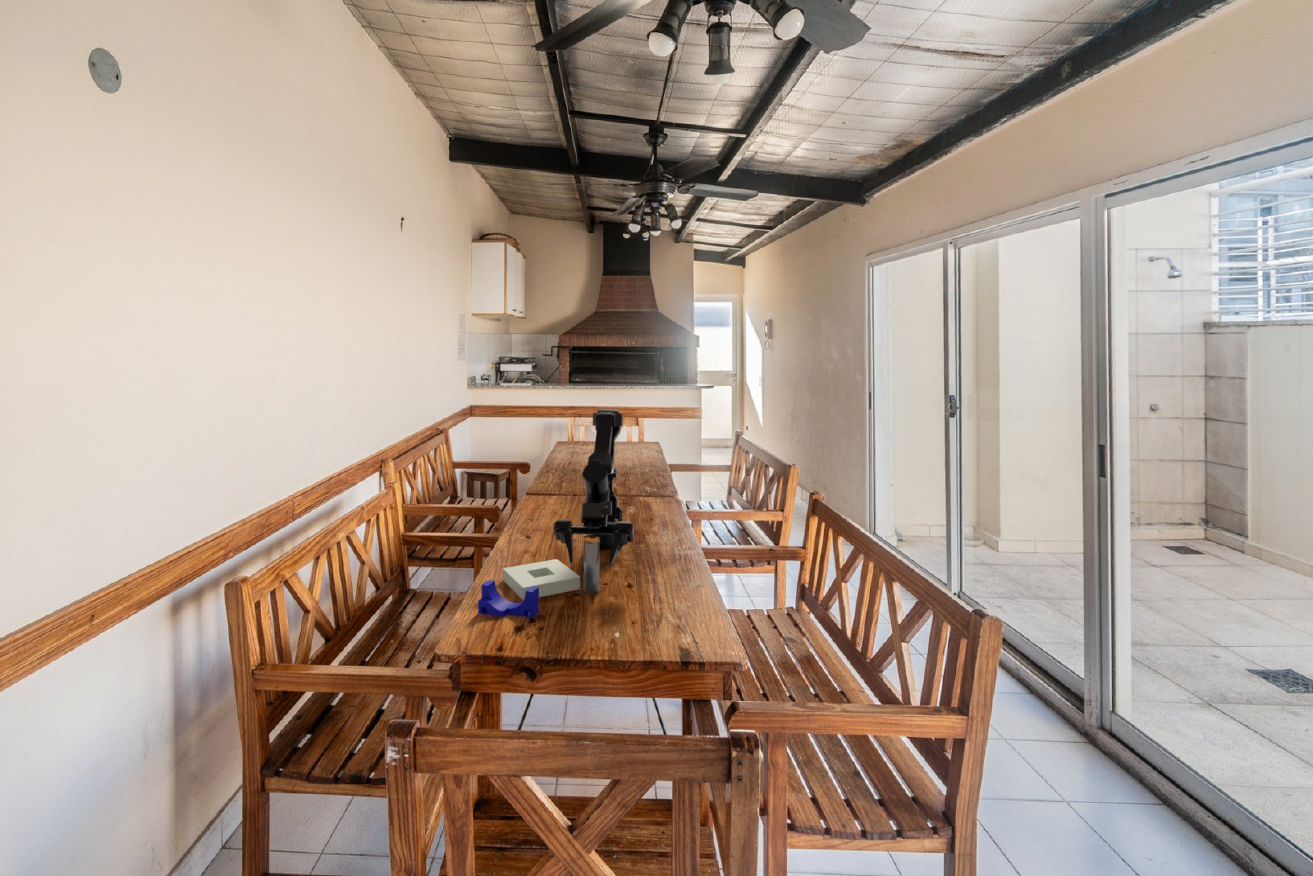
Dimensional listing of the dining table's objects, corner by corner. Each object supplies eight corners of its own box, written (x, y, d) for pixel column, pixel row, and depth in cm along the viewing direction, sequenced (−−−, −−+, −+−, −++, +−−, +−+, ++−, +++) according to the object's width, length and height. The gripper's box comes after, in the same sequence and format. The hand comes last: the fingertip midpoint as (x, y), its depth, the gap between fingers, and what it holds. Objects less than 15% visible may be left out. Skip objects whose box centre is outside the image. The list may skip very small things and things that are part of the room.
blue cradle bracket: (478, 614, 136) (477, 587, 135) (489, 605, 140) (488, 579, 139) (529, 622, 133) (528, 594, 132) (538, 613, 137) (538, 586, 136)
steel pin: (594, 586, 152) (595, 533, 150) (601, 591, 149) (602, 538, 147) (581, 589, 150) (581, 536, 148) (587, 594, 147) (588, 540, 145)
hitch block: (556, 570, 162) (556, 559, 161) (580, 589, 150) (580, 576, 150) (503, 580, 154) (502, 568, 154) (523, 600, 143) (522, 587, 142)
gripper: (554, 486, 150) (545, 546, 141) (633, 488, 150) (630, 549, 140) (560, 510, 159) (552, 568, 150) (635, 512, 159) (631, 570, 149)
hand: (590, 563), depth 147 cm, fingers open, 9 cm apart
